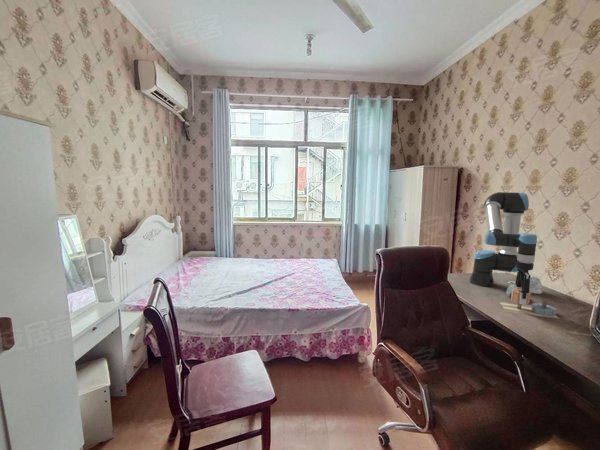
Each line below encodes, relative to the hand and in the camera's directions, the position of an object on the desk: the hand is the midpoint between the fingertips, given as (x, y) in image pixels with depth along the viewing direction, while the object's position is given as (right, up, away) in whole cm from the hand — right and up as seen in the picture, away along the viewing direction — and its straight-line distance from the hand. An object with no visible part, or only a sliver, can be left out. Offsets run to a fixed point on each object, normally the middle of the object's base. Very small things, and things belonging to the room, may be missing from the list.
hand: (520, 301), depth 165 cm
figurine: (+32, -2, +31) cm, 44 cm away
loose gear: (0, 0, 0) cm, 0 cm away
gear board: (+4, -6, -1) cm, 7 cm away
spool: (+10, -3, +17) cm, 20 cm away
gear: (+10, -5, -3) cm, 12 cm away
